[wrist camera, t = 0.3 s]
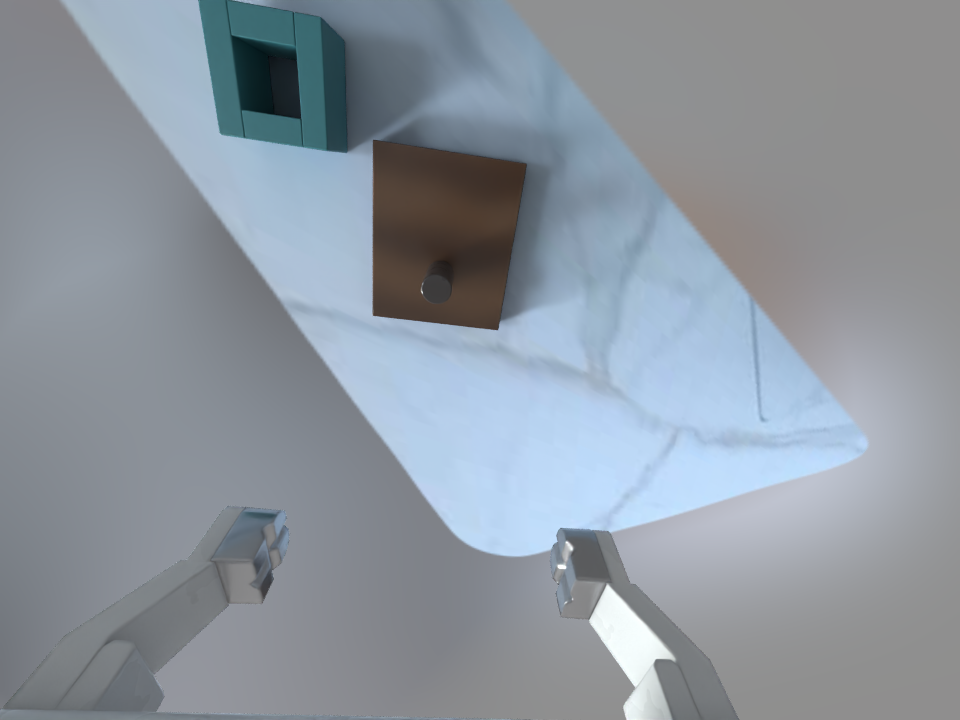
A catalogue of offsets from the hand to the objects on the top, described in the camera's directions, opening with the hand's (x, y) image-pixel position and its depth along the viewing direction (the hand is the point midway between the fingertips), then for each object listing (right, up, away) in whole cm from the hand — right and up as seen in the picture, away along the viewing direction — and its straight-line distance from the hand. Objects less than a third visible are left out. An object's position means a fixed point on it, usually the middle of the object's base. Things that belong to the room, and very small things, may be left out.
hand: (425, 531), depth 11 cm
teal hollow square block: (-10, +22, +12) cm, 27 cm away
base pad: (-1, +14, +17) cm, 22 cm away
